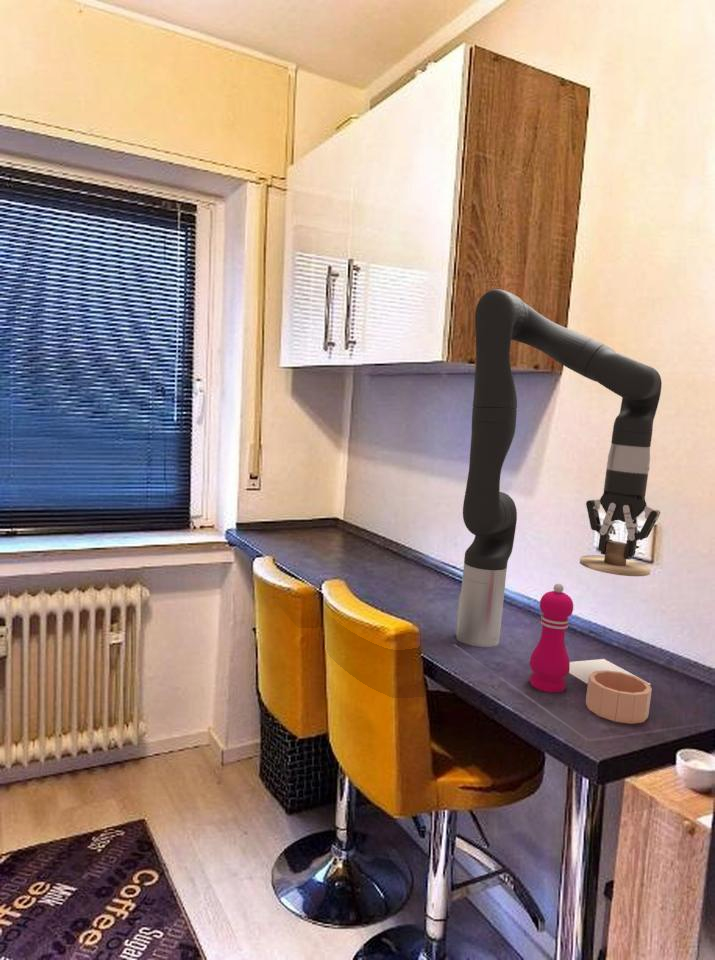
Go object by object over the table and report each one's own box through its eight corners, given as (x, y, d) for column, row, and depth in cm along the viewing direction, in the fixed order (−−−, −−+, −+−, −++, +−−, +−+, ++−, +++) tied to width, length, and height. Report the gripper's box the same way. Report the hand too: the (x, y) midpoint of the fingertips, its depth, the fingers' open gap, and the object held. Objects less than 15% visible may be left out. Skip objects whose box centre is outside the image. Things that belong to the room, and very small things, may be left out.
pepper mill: (573, 688, 129) (586, 585, 126) (556, 699, 123) (569, 591, 121) (538, 676, 133) (549, 576, 131) (520, 685, 128) (531, 582, 126)
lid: (565, 559, 137) (568, 535, 137) (616, 558, 142) (619, 536, 141) (611, 577, 125) (615, 551, 125) (665, 575, 130) (668, 551, 129)
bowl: (574, 702, 123) (577, 672, 122) (617, 697, 126) (621, 668, 126) (614, 728, 113) (618, 696, 113) (659, 722, 117) (664, 691, 117)
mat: (553, 665, 140) (553, 663, 140) (603, 661, 145) (604, 658, 145) (597, 692, 128) (598, 690, 128) (650, 686, 133) (651, 684, 133)
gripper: (584, 464, 133) (573, 551, 135) (661, 474, 124) (648, 567, 126) (597, 463, 139) (586, 546, 141) (671, 473, 130) (659, 561, 132)
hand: (616, 555), depth 133 cm, fingers closed on lid, 4 cm apart
